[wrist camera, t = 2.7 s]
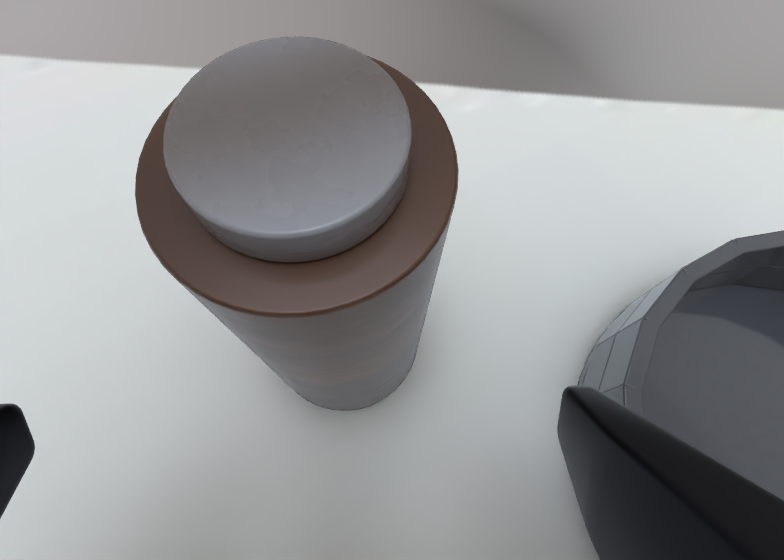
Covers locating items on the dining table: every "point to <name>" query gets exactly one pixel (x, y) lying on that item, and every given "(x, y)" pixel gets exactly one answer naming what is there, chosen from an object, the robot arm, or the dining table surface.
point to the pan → (708, 357)
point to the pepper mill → (305, 210)
